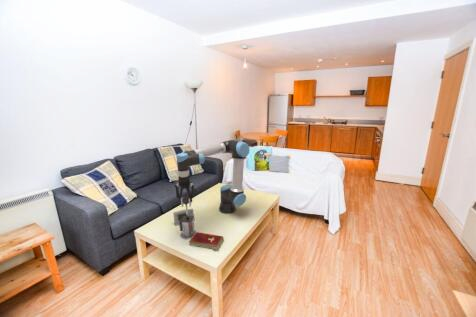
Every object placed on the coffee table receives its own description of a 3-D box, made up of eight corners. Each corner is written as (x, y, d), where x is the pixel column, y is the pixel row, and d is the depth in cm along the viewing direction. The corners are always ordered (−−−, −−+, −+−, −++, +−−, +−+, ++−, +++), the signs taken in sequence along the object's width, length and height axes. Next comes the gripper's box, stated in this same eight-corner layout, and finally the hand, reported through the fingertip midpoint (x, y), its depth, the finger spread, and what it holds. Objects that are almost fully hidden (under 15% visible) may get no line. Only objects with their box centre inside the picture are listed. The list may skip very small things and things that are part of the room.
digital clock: (174, 226, 174) (172, 214, 171) (174, 220, 182) (173, 209, 179) (194, 224, 177) (193, 212, 174) (194, 218, 185) (193, 207, 183)
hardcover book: (196, 236, 161) (196, 231, 160) (223, 240, 156) (223, 235, 155) (189, 246, 150) (188, 241, 149) (217, 251, 145) (217, 246, 144)
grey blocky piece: (195, 230, 166) (194, 215, 163) (192, 237, 158) (191, 221, 155) (182, 230, 167) (181, 215, 163) (179, 237, 159) (177, 221, 155)
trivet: (198, 230, 168) (198, 229, 168) (194, 240, 156) (194, 239, 156) (183, 230, 169) (183, 229, 168) (178, 239, 157) (178, 238, 157)
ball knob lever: (191, 220, 162) (190, 196, 157) (190, 223, 157) (188, 199, 152) (185, 220, 162) (183, 196, 157) (183, 223, 157) (181, 199, 152)
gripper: (198, 173, 154) (200, 204, 160) (172, 173, 155) (175, 203, 161) (195, 177, 146) (197, 208, 152) (169, 177, 147) (172, 208, 153)
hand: (186, 206), depth 156 cm, fingers closed on ball knob lever, 5 cm apart
